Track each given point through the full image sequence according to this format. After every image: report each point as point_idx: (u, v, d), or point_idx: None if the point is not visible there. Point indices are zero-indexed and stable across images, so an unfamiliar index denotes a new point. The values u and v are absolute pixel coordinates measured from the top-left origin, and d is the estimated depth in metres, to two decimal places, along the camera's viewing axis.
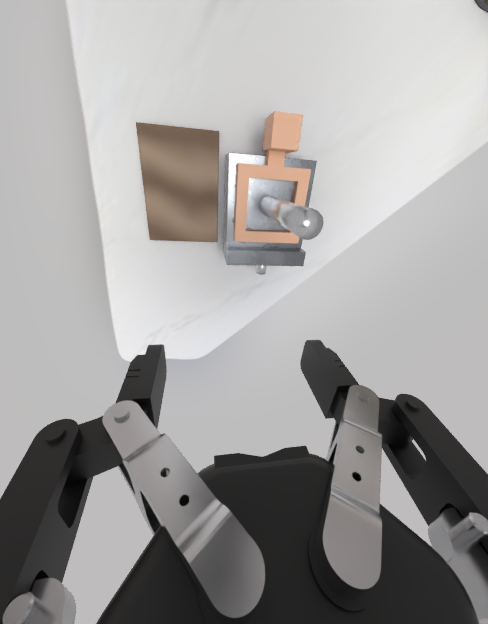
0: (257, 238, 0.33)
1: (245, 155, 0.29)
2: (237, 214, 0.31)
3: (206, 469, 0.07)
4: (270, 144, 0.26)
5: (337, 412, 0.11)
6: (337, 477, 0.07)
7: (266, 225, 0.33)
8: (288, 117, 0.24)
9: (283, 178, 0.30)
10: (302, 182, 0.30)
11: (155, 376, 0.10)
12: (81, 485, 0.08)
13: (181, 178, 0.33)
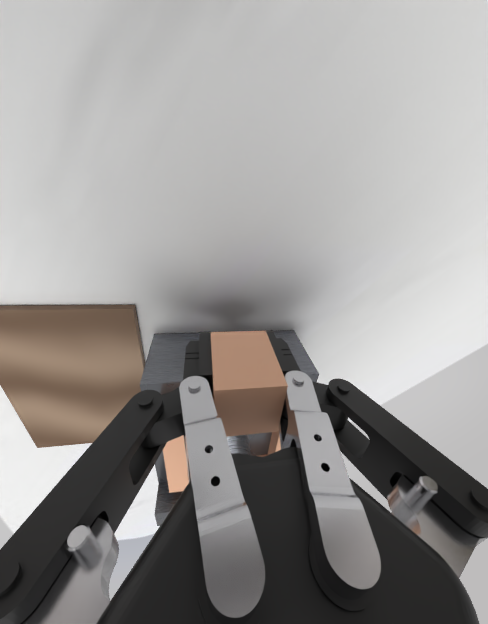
0: None
1: (175, 383, 0.14)
2: (168, 467, 0.16)
3: None
4: None
5: None
6: (337, 477, 0.07)
7: None
8: (251, 394, 0.10)
9: None
10: None
11: None
12: (152, 452, 0.09)
13: (74, 374, 0.18)
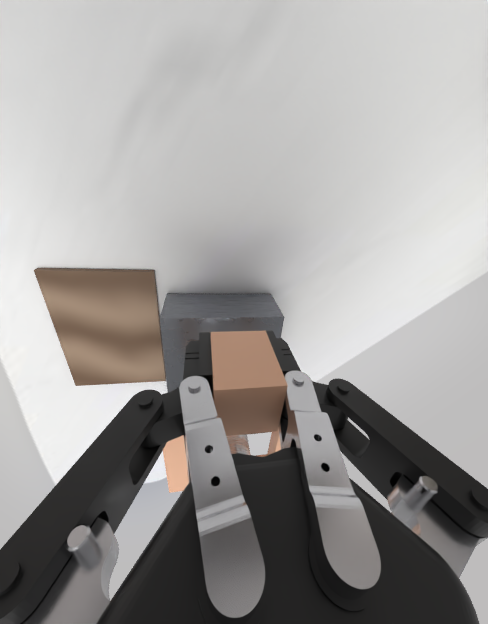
0: None
1: (183, 319, 0.21)
2: (168, 467, 0.16)
3: None
4: None
5: None
6: (337, 477, 0.07)
7: None
8: (251, 394, 0.10)
9: None
10: None
11: None
12: (153, 452, 0.09)
13: (108, 323, 0.25)
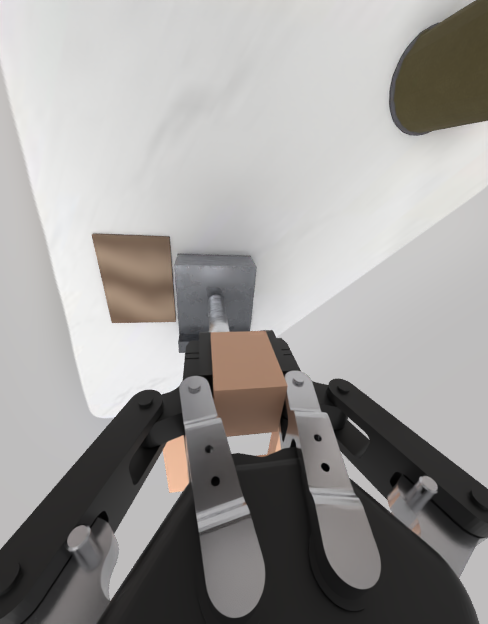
0: None
1: (189, 266, 0.32)
2: (168, 467, 0.16)
3: None
4: None
5: None
6: (337, 477, 0.07)
7: None
8: (251, 394, 0.10)
9: None
10: None
11: None
12: (153, 452, 0.09)
13: (137, 274, 0.36)
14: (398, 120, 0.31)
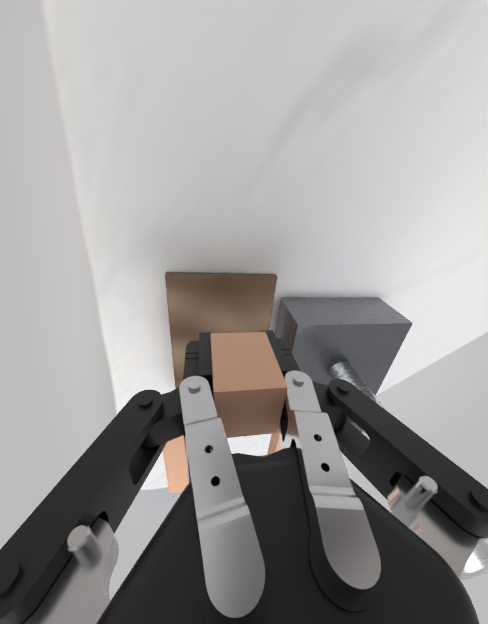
0: None
1: (319, 326, 0.21)
2: (168, 468, 0.16)
3: None
4: None
5: None
6: (337, 477, 0.07)
7: None
8: (251, 395, 0.10)
9: None
10: None
11: None
12: (152, 452, 0.09)
13: (221, 327, 0.24)
14: None
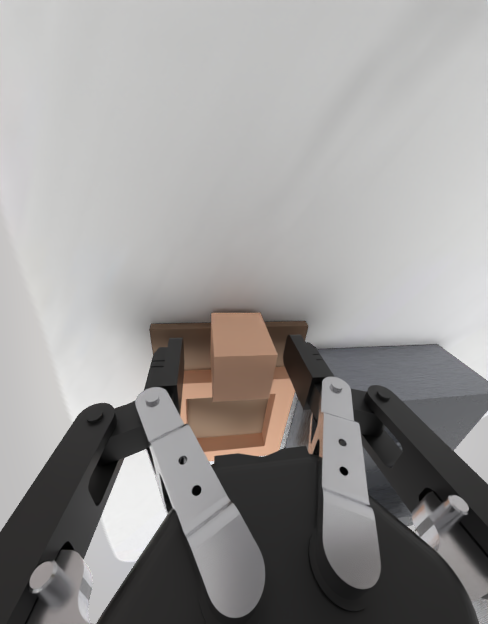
0: (209, 457, 0.20)
1: None
2: None
3: None
4: (212, 392, 0.13)
5: (313, 403, 0.11)
6: (337, 477, 0.07)
7: None
8: (246, 361, 0.11)
9: None
10: (283, 394, 0.17)
11: (179, 366, 0.11)
12: (111, 467, 0.09)
13: None
14: None
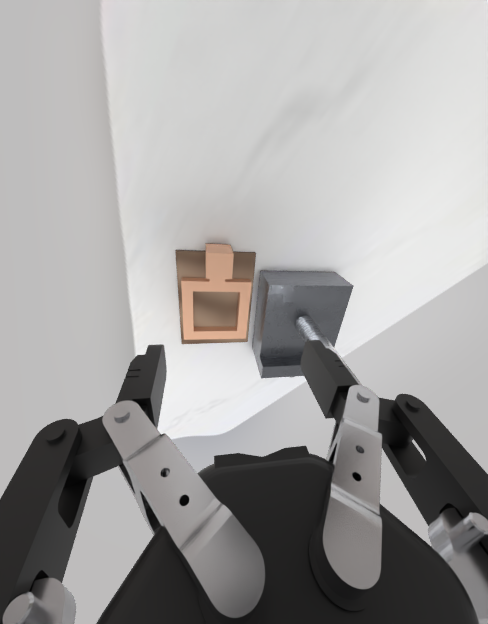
0: (205, 336, 0.35)
1: (284, 286, 0.29)
2: (184, 319, 0.33)
3: (206, 469, 0.07)
4: (206, 274, 0.28)
5: (337, 412, 0.11)
6: (337, 477, 0.07)
7: (300, 339, 0.34)
8: (220, 256, 0.27)
9: (225, 290, 0.32)
10: (244, 292, 0.32)
11: (155, 376, 0.10)
12: (81, 485, 0.08)
13: (216, 293, 0.33)
14: None
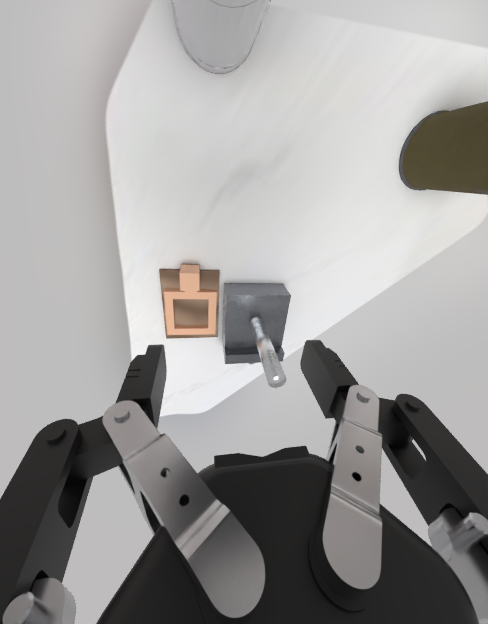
0: (184, 332, 0.46)
1: (238, 296, 0.40)
2: (167, 319, 0.44)
3: (206, 469, 0.07)
4: (180, 288, 0.39)
5: (337, 412, 0.11)
6: (337, 477, 0.07)
7: None
8: (189, 275, 0.37)
9: (197, 298, 0.43)
10: (211, 299, 0.43)
11: (155, 376, 0.10)
12: (81, 485, 0.08)
13: (191, 300, 0.44)
14: (406, 180, 0.39)
